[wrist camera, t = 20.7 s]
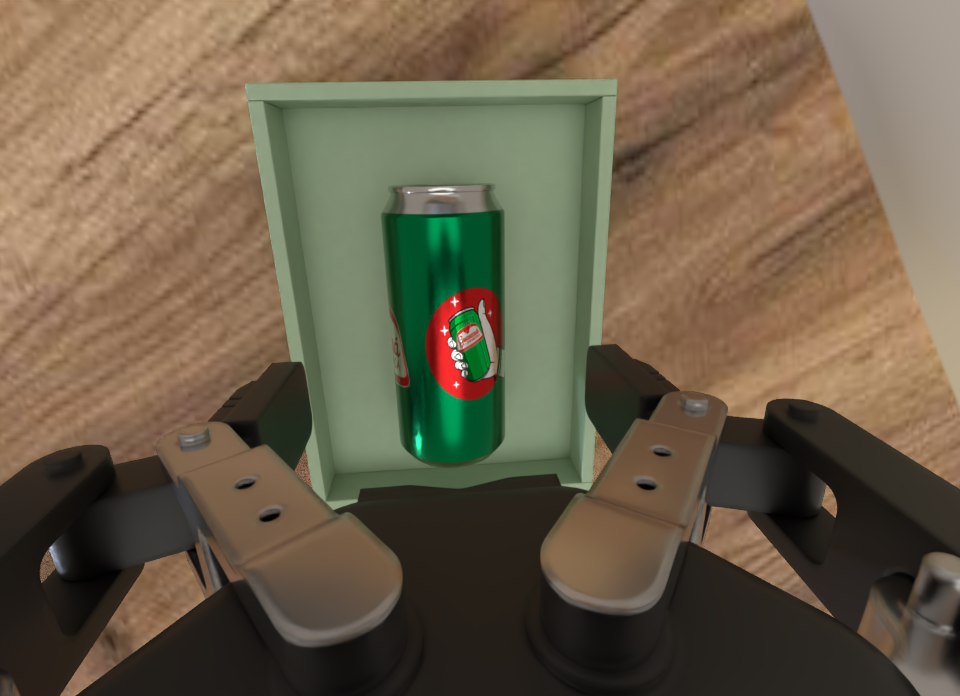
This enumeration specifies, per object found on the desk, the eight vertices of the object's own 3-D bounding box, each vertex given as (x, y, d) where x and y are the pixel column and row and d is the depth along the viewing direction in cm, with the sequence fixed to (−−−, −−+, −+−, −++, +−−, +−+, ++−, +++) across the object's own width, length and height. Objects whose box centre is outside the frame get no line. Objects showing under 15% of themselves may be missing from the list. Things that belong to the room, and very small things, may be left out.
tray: (576, 460, 28) (592, 491, 25) (328, 477, 27) (315, 512, 24) (594, 91, 22) (618, 78, 19) (269, 95, 21) (243, 82, 18)
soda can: (416, 417, 26) (399, 184, 22) (509, 422, 26) (509, 182, 22) (386, 470, 22) (358, 187, 18) (499, 478, 21) (497, 184, 17)
